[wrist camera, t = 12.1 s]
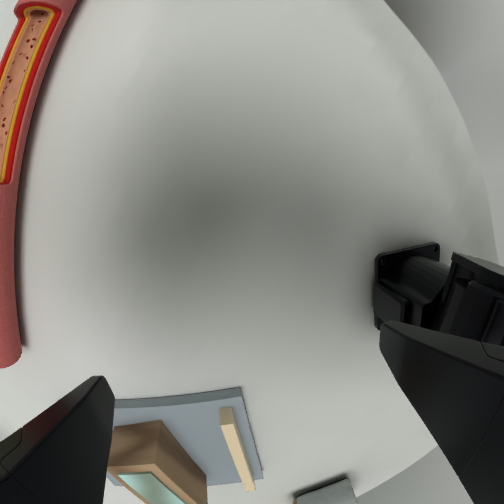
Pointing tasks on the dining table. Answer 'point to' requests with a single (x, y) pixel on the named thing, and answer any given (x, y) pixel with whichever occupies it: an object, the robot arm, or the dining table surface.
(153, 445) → the frame
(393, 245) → the dining table surface
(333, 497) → the ceramic mug
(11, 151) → the blood vessel
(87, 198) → the dining table surface
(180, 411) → the grey flat panel
